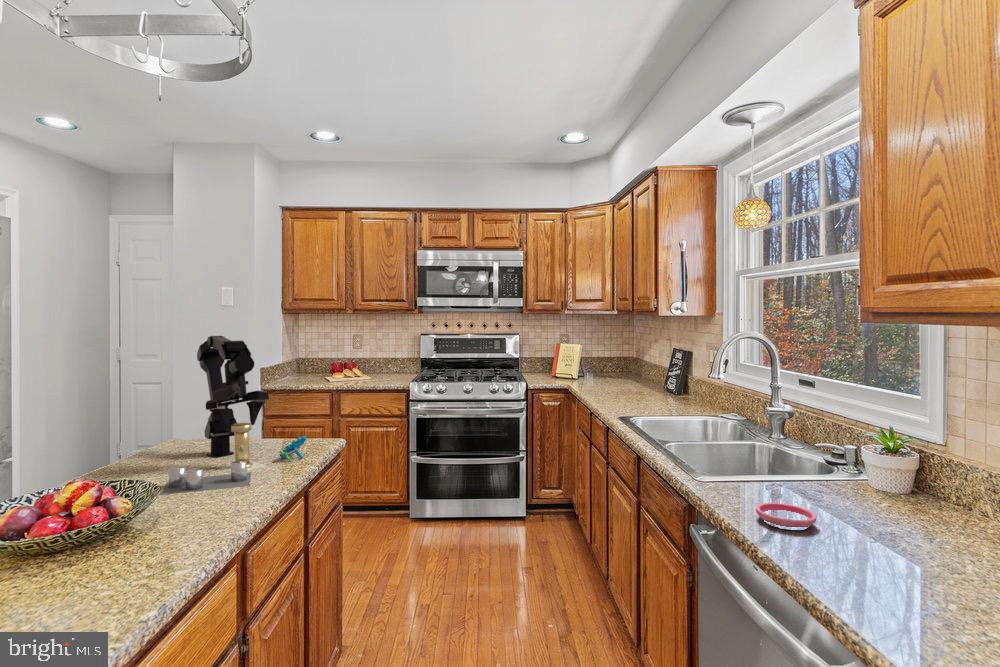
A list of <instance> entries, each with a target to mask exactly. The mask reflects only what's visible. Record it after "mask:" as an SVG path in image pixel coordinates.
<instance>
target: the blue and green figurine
mask: <svg viewBox="0 0 1000 667" xmlns="http://www.w3.org/2000/svg"><path fill="white" fill-rule="evenodd" d="M306 441H307V438H306V436H305V435H303V436H299V437H298V438H297V440H295V439H294V440H293V441H291V444H287V445H286V446H285V448H284V449H281V450H280V451H279V457H280V458H281V459H284V458H286V459H287V461H289V463H291V462H292V461H293V460H292V459H291V458H290V457H289V456H291V455H293V454H296V455H297V456H298V458H299V459H300V458H302V459H304V456H303V454H302V453H301V452H300V451H299V450H300V449H301V446H302V445H304V444H305V442H306Z"/></svg>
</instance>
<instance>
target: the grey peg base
mask: <svg viewBox="0 0 1000 667" xmlns="http://www.w3.org/2000/svg"><path fill="white" fill-rule="evenodd" d="M230 465H231V471H230V474H229V473H228V474H222V475H221V474H220V475H209V476H204V468H202V467H192V468H187V466H186V465H174V466H170V467H169V468H168V481H167V482H166V484H165V485H164V487H163V488H162V490H161V492H160V494H159V496H164V495H174V494H176V495H177V494H185V493H193V492H194V493H195V492H204V491H205V492H206V491H213V490H214V491H216V490H225V489H234V488H242V487H243V488H244V487H250V486H251V477H252V472H248V470H247V461H231V463H230Z"/></svg>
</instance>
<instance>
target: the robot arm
mask: <svg viewBox="0 0 1000 667" xmlns="http://www.w3.org/2000/svg"><path fill="white" fill-rule="evenodd" d="M196 358H197V361H198V362H199V366H200V367H199V368H201V369H202V370H203V372H205V374H206V379H207V380H206V381H207V385H208V393H209V398H210V400H207V401H206V403H205V410H206V411H209V412H210V415H209V416H208V418H207V423H206V425H205V428H204V438H206V439H207V440H210V452H206V454H207V455H206V454H205V455H206V456H209V455H210V457H214V458H219V457H225V456H229V455H235V451H231V450H230V449H231V447H230V446H231V442H230V440H231V437H234V432H231V425H233V424H237V423H238V422H237V419H236V418H235V416H234V410H233V409H232V408H229V406H231V405H235V404H240V403H245V402H246V405H247V407H248V410H249V421H250V422H249V423H251V426H254V425H255V424H256V421H257V418H258V415H259V413H260V412H261V409H262V407H263V405H264V404H266V401H268V400H269V399H270V397H269V396H270V395H269V392H267V390H254V391H250V392H249V391H248V392H247V385H249V380H246V374H248V373H250V372H251V371H253V369H254V367H255V361H254V359H253V357H252V352H251V351H250V349H249V347H248V346H247V344H246V343H245V341H244V340H231V339H228V338H226V336H223V335H210V336H208V337H207V340H206V341H204V342H203V343H201V344H200V345H199V347H198V349H197V352H196ZM225 360H226V362H225ZM224 363H225V364H224ZM222 366H223V367H224V368H223V369H224V377H225V380H224V382H223V375H222Z"/></svg>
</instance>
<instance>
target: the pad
mask: <svg viewBox="0 0 1000 667" xmlns="http://www.w3.org/2000/svg"><path fill="white" fill-rule="evenodd" d="M250 462H252V463H253V465H252V466H251V467H248V468H247V471H251V470H255V469H259V468H265V467H267V466H268V465H266V464H263V463H259V462H256V461H252V460H250ZM217 468H218V469H221V470H225V471H227V472H231V464H229V465H228V464H227V465H223V466H219V467H217Z"/></svg>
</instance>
